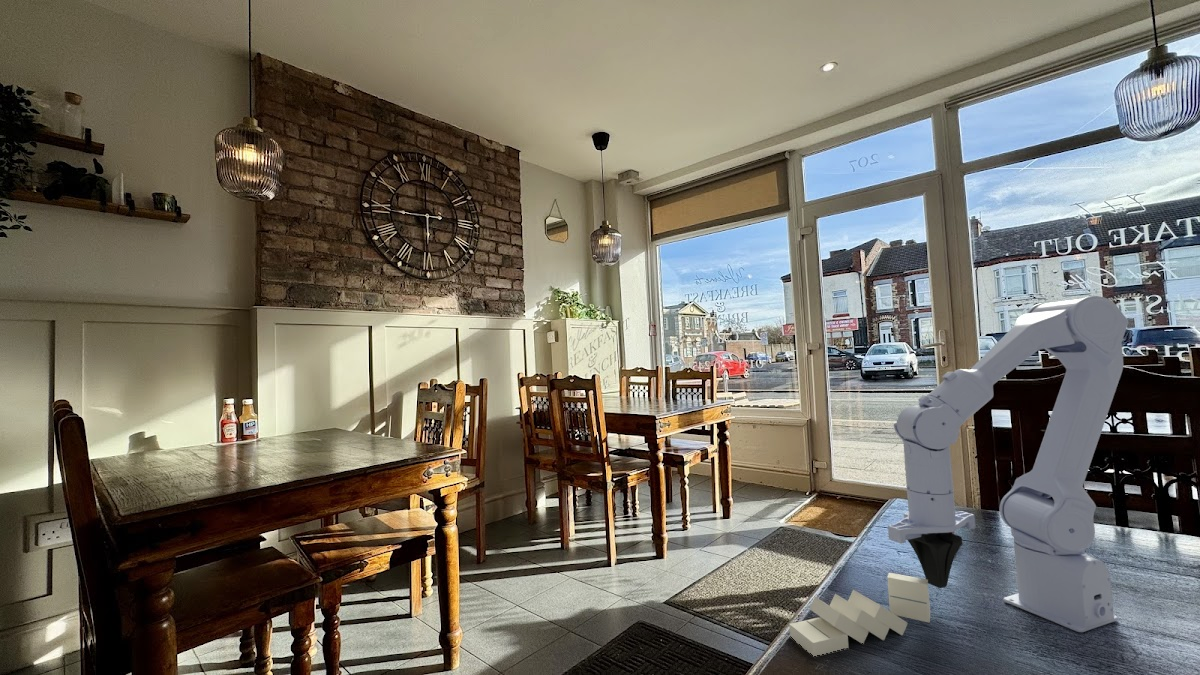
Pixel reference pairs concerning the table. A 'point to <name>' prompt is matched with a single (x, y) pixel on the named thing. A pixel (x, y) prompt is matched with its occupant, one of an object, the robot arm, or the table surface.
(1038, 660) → the table surface
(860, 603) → the domino
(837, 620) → the domino
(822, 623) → the domino
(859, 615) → the domino
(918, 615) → the domino
